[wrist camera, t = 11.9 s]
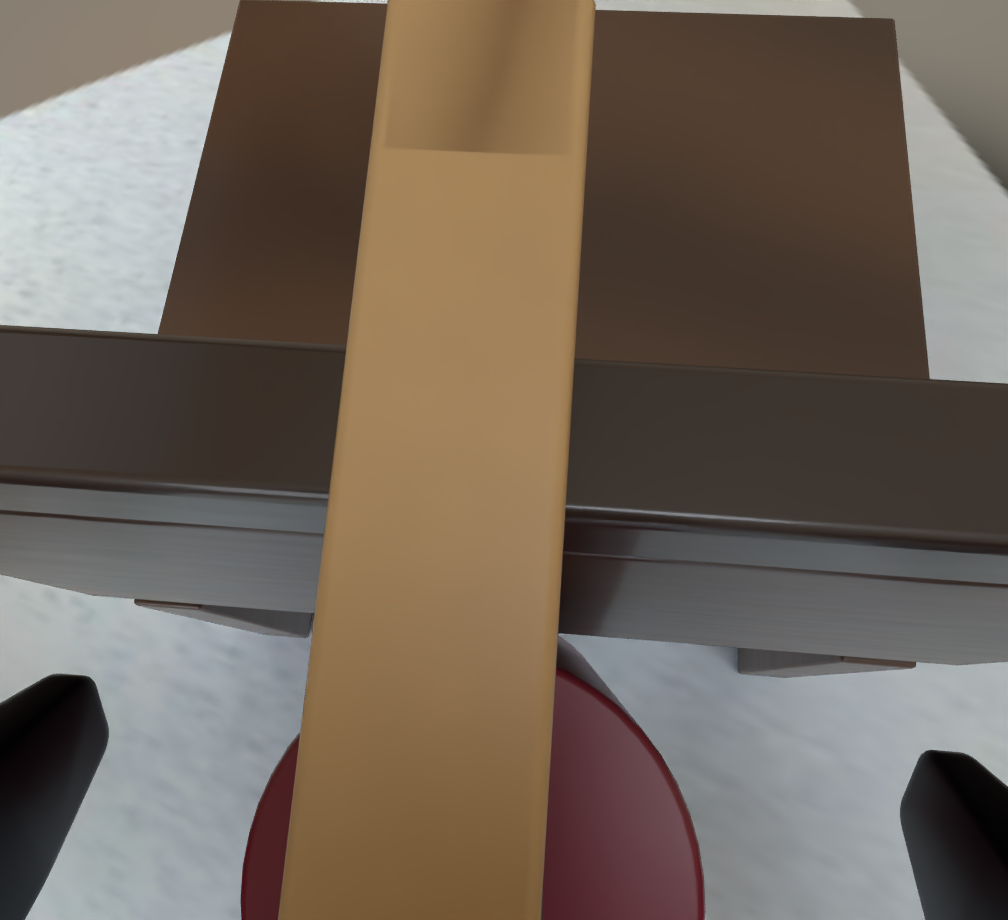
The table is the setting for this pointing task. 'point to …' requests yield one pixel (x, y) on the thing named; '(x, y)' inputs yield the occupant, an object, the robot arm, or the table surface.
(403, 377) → the red cylinder with handle
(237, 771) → the table surface
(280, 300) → the chair
